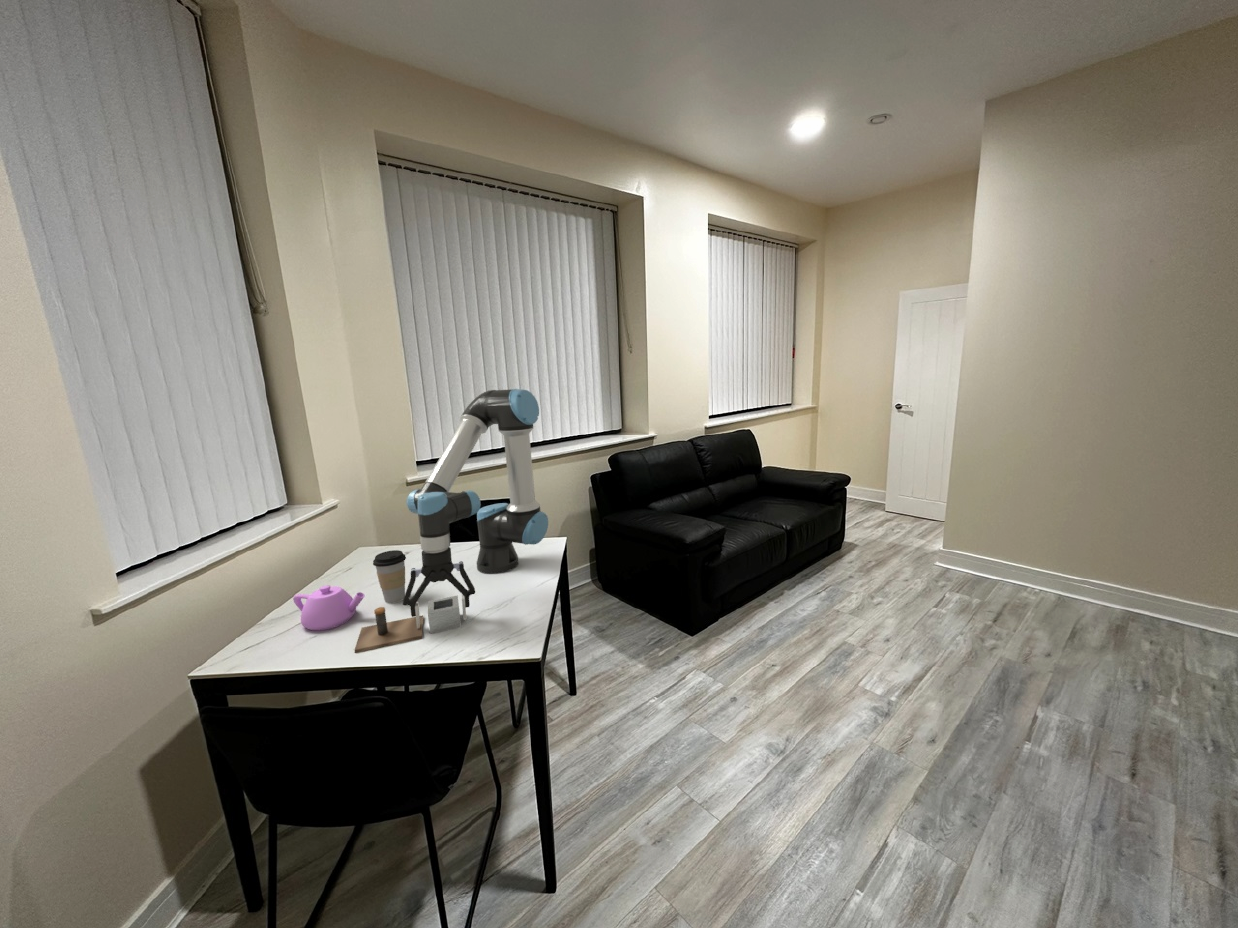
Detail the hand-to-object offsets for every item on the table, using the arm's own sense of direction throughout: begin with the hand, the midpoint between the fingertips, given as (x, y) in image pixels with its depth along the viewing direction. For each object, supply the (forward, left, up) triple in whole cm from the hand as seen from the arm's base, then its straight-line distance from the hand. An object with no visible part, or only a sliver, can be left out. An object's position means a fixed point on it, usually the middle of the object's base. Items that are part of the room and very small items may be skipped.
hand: (442, 621), depth 130 cm
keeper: (+13, -1, -1) cm, 13 cm away
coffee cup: (+14, -24, -1) cm, 28 cm away
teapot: (+30, -17, -1) cm, 35 cm away
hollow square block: (-1, 0, -1) cm, 1 cm away
